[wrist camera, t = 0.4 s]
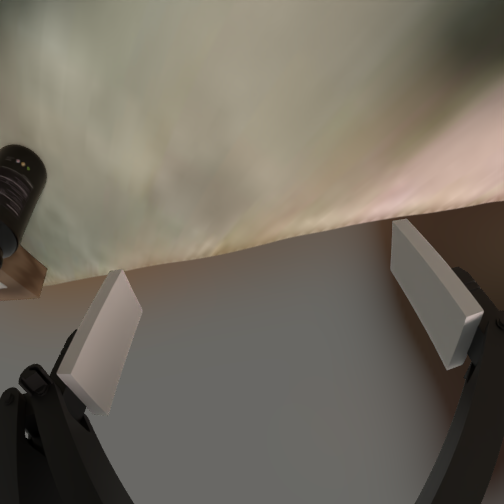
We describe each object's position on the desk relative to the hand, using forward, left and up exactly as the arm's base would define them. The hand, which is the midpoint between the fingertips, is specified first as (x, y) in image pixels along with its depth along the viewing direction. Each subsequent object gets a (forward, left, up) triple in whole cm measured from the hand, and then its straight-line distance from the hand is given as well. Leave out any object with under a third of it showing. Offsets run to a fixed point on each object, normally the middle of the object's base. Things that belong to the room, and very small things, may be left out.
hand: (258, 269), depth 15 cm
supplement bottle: (-1, -23, -14) cm, 27 cm away
